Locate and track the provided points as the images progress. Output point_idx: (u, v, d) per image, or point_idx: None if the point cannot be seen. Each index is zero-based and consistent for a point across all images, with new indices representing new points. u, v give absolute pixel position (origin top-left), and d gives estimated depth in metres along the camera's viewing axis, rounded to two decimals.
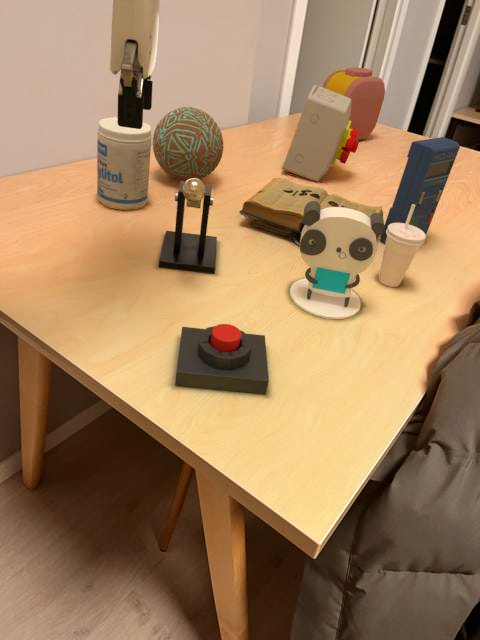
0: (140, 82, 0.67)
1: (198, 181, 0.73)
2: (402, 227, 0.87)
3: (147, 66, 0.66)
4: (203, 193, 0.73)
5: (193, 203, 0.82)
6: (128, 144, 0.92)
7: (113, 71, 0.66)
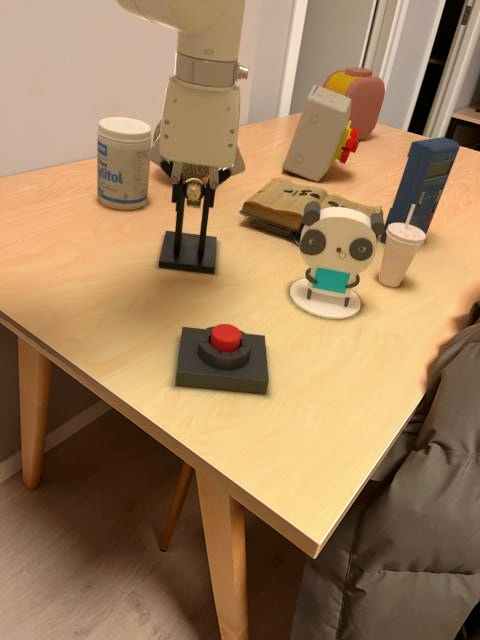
0: (172, 170, 0.71)
1: (198, 181, 0.73)
2: (402, 227, 0.87)
3: (161, 147, 0.68)
4: (203, 193, 0.73)
5: (193, 203, 0.82)
6: (128, 144, 0.92)
7: None
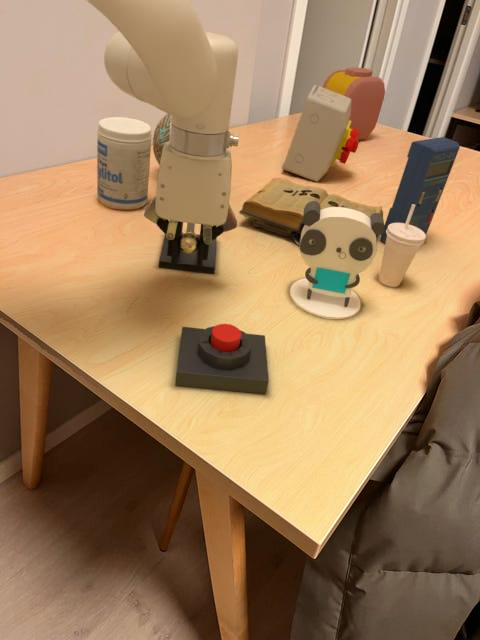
0: (167, 227, 0.75)
1: (192, 242, 0.76)
2: (402, 227, 0.87)
3: (157, 208, 0.72)
4: None
5: None
6: (128, 144, 0.92)
7: None
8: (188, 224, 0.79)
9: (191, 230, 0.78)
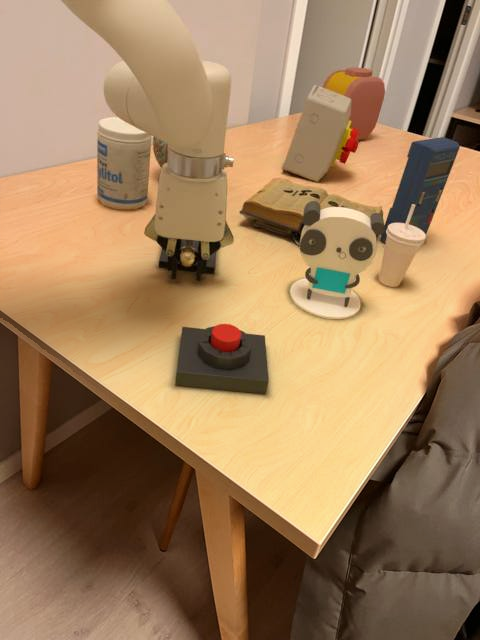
0: (167, 245, 0.78)
1: (190, 259, 0.79)
2: (402, 227, 0.87)
3: (157, 226, 0.75)
4: (195, 262, 0.81)
5: None
6: (128, 144, 0.92)
7: None
8: None
9: (190, 242, 0.81)
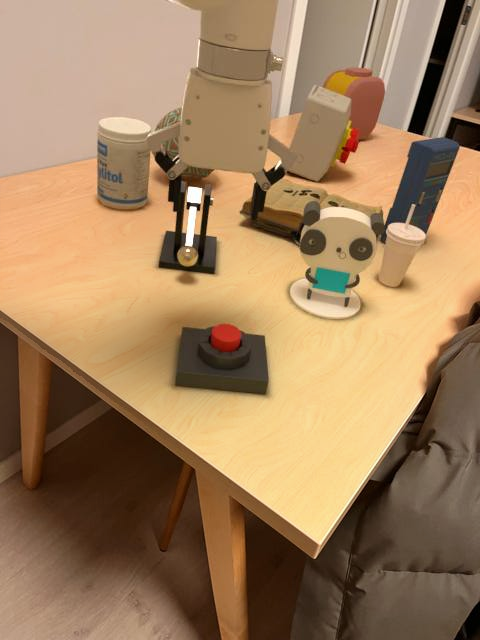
0: (175, 164, 0.61)
1: (190, 259, 0.79)
2: (402, 227, 0.87)
3: (181, 151, 0.59)
4: (195, 262, 0.81)
5: None
6: (128, 144, 0.92)
7: None
8: (187, 234, 0.81)
9: (190, 242, 0.81)
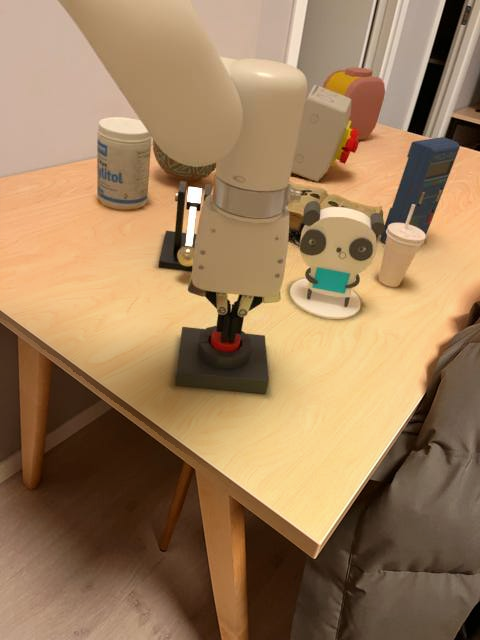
0: (216, 301, 0.60)
1: (190, 259, 0.79)
2: (402, 227, 0.87)
3: (195, 277, 0.57)
4: None
5: None
6: (128, 144, 0.92)
7: None
8: (187, 234, 0.81)
9: (190, 242, 0.81)
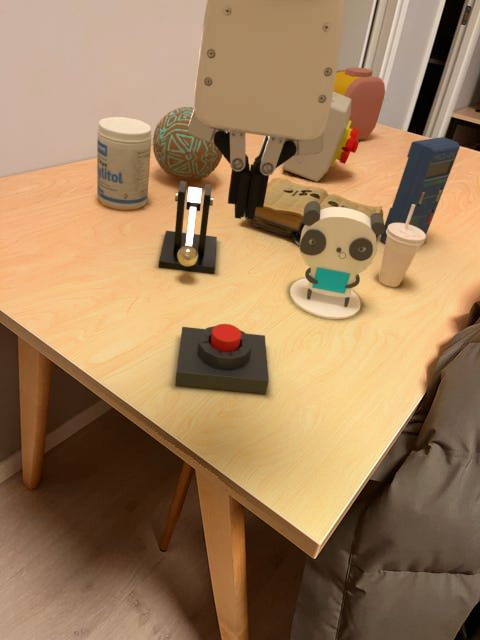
0: (230, 149, 0.41)
1: (190, 259, 0.79)
2: (402, 227, 0.87)
3: (199, 102, 0.38)
4: (195, 262, 0.81)
5: None
6: (128, 144, 0.92)
7: None
8: (187, 234, 0.81)
9: (190, 242, 0.81)
